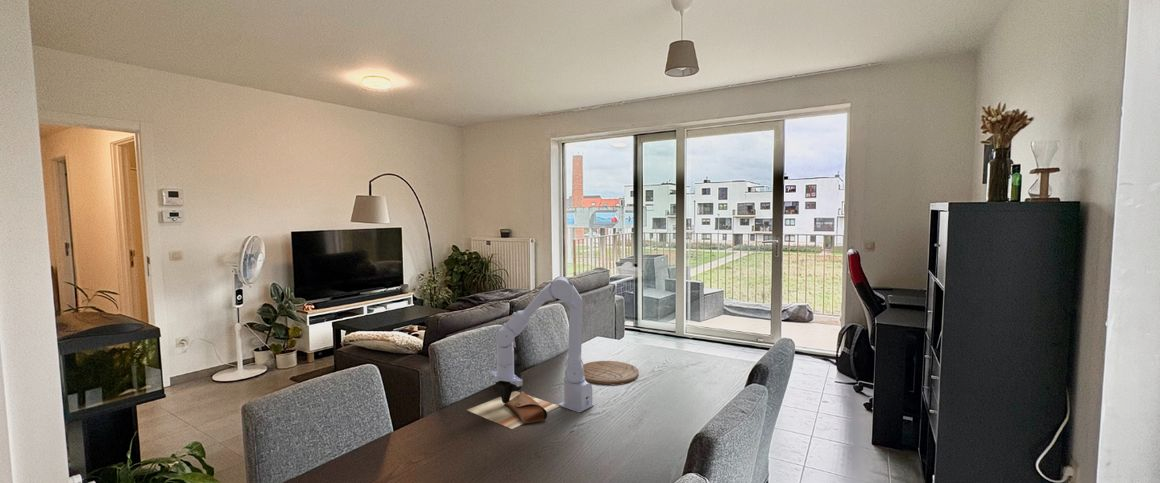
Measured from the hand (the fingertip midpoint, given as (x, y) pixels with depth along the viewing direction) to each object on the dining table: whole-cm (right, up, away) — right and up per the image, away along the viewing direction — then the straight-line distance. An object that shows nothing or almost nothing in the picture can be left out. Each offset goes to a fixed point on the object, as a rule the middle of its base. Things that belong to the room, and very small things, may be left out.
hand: (505, 402), depth 162 cm
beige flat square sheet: (+3, -1, -2) cm, 4 cm away
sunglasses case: (+7, -2, -6) cm, 9 cm away
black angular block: (-1, 0, +21) cm, 21 cm away
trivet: (+37, 0, +32) cm, 49 cm away
